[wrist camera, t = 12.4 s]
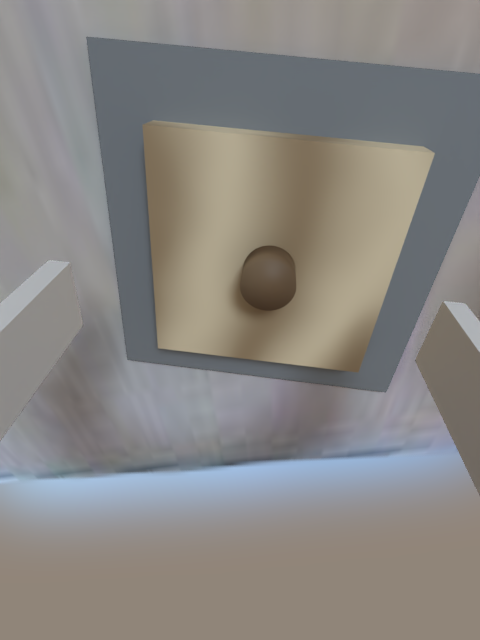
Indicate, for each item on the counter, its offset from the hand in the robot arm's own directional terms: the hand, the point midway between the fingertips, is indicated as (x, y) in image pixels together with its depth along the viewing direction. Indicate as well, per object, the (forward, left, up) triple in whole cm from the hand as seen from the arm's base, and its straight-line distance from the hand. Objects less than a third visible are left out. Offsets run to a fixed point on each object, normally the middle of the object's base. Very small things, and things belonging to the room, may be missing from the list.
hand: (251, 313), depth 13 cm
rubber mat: (+1, 0, -6) cm, 6 cm away
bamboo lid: (0, 0, -6) cm, 6 cm away
